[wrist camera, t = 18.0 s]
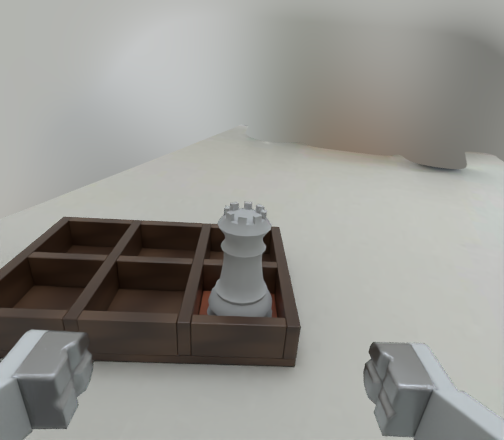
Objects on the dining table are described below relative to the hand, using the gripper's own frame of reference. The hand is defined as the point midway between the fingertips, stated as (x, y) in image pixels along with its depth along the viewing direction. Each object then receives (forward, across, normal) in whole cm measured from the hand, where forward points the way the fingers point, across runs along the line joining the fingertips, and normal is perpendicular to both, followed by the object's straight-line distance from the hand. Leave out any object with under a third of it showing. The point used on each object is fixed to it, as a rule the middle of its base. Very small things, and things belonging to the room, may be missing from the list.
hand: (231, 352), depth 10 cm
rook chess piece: (+11, 0, +8) cm, 14 cm away
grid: (+14, +6, +9) cm, 18 cm away
